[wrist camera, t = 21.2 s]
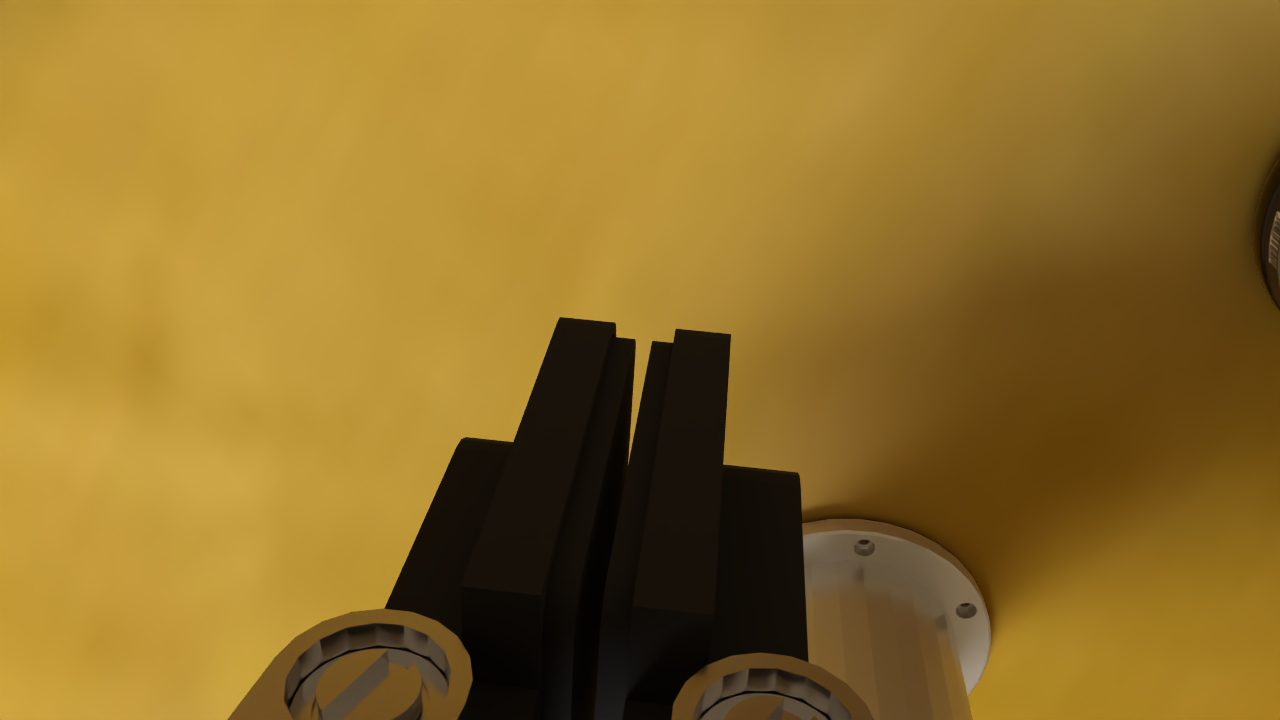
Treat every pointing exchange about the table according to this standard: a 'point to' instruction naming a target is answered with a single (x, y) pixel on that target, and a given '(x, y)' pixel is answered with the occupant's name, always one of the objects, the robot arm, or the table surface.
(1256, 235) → the supplement container
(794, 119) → the table surface
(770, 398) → the table surface
